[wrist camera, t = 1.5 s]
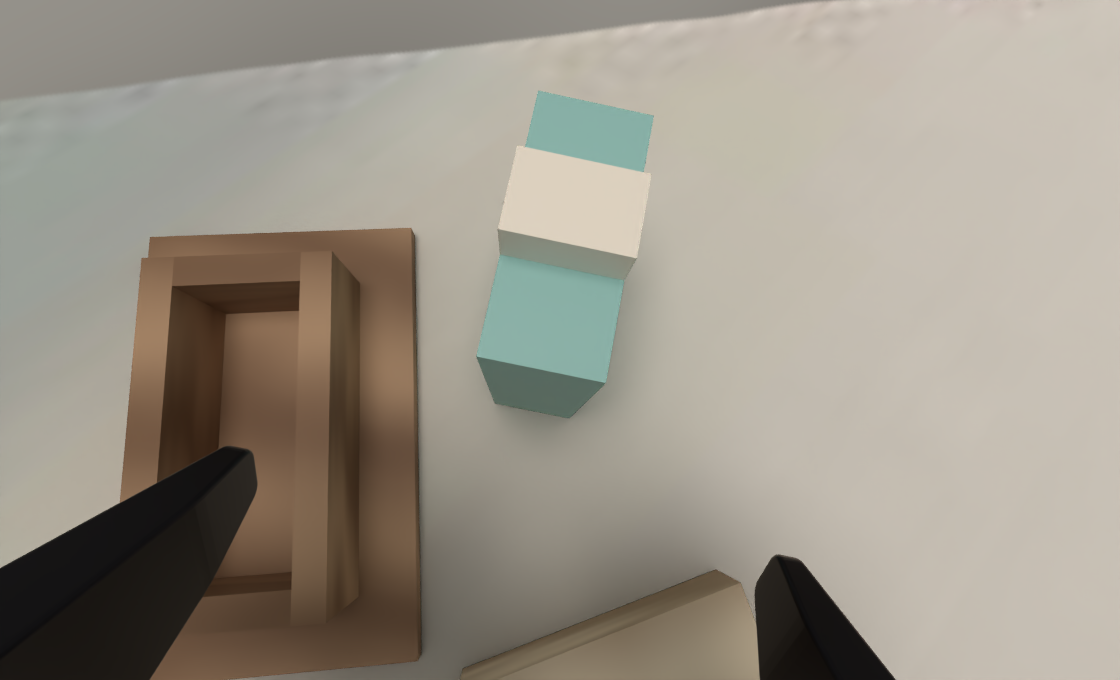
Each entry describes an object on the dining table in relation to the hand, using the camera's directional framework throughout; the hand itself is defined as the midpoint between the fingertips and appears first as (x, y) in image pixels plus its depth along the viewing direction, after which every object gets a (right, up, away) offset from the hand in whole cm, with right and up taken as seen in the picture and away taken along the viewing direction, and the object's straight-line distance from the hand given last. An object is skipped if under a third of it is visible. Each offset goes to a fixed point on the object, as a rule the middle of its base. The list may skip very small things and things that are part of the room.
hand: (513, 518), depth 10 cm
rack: (-10, -1, +12) cm, 16 cm away
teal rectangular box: (0, +4, +14) cm, 14 cm away
